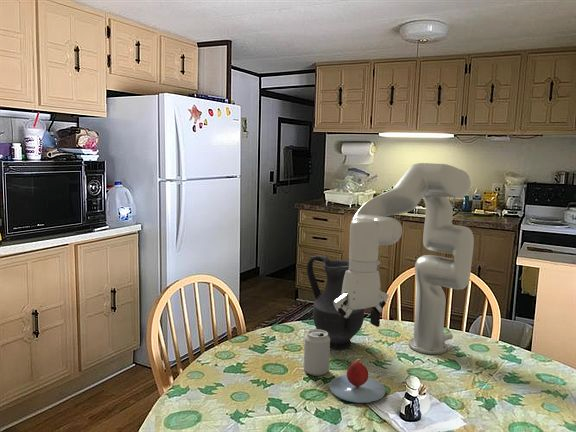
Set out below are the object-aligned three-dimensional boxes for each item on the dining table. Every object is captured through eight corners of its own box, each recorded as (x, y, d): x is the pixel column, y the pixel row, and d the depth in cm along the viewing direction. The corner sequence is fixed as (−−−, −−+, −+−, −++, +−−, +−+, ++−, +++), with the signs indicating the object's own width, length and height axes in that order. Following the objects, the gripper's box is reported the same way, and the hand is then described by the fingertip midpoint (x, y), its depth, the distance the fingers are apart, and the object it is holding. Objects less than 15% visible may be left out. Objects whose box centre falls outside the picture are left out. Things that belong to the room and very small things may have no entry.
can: (327, 378, 138) (328, 338, 136) (301, 375, 139) (302, 335, 138) (330, 367, 145) (331, 329, 144) (305, 364, 147) (307, 326, 145)
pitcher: (349, 359, 151) (353, 266, 147) (293, 344, 162) (295, 257, 158) (370, 342, 166) (374, 257, 162) (317, 329, 176) (320, 249, 173)
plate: (362, 374, 141) (363, 370, 141) (396, 397, 128) (396, 393, 128) (319, 384, 134) (319, 380, 134) (350, 410, 121) (350, 406, 121)
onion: (355, 394, 127) (355, 365, 126) (342, 385, 132) (342, 357, 131) (372, 389, 130) (373, 361, 128) (359, 380, 135) (359, 353, 133)
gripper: (380, 260, 134) (377, 319, 136) (327, 265, 126) (325, 328, 128) (398, 265, 127) (394, 327, 129) (343, 272, 119) (341, 338, 121)
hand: (360, 328), depth 129 cm, fingers open, 9 cm apart
